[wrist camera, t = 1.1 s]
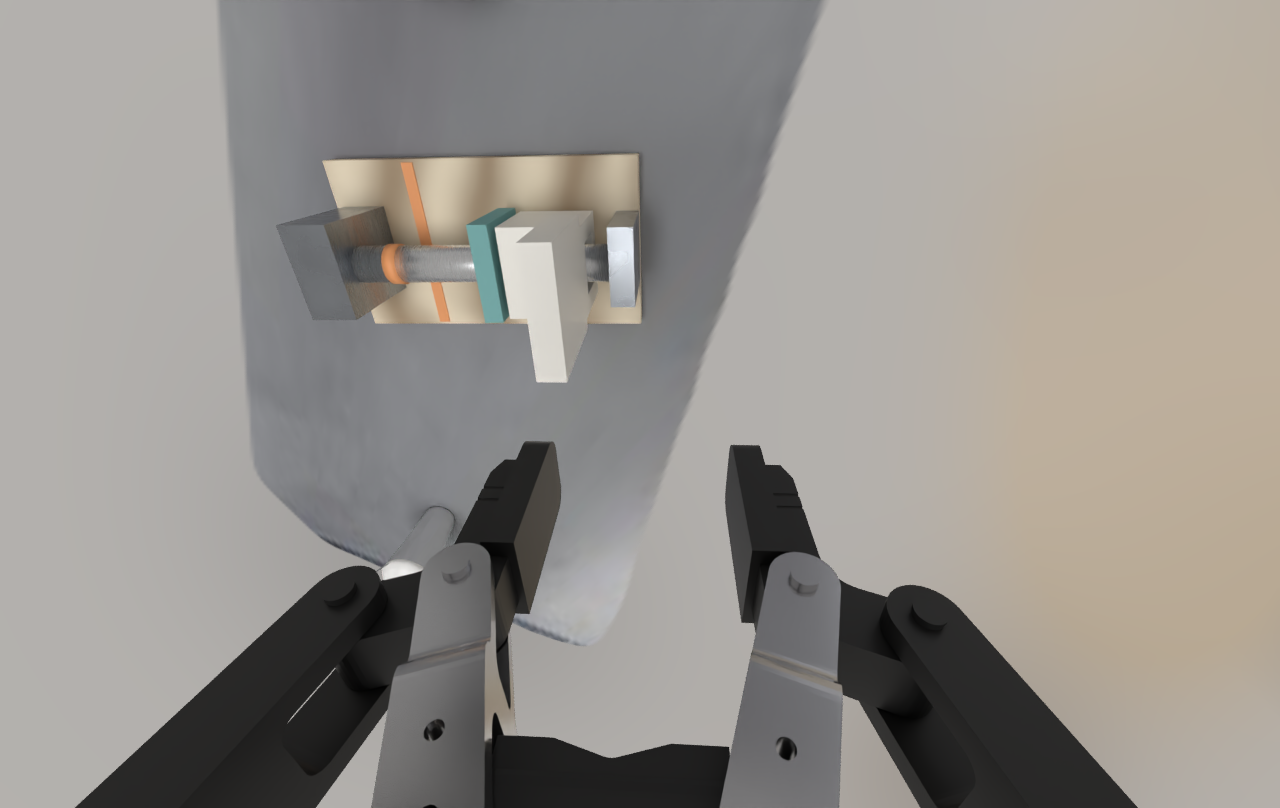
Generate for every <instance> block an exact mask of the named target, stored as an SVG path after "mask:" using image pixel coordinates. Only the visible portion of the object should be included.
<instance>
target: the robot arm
mask: <svg viewBox="0 0 1280 808" xmlns="http://www.w3.org/2000/svg"><path fill="white" fill-rule="evenodd" d="M560 501H561V484H560V476H559V469H558V462H557V454H556V448H555V444H554V442H541V441H526V442H524V444H523V446H522V448H521V450H520V453H519V455H518V457H517V459H516V460H504V461H503V462H502V463H501V464H499V465H498V466H497V467H496V468H495V469H494V470H493V471H491V473H490V475H489V477H488V479H487V481H486V483H485V485H484V489H482V491H481V493H480V495H479V497H478V501H476V503H475V505H474V507H473V509H472V511H471V512H470V514H469V516H468V518H467V520H466V522H465V524H464V526H463V528H462V530H461V532H460V534H459V536H458V538H457V540H456V542H455V544H454V545H451V546H449V547H446V548H444V549H442V550H441V551H439V552H438V553H436V554H435V555H434V556H433V557H431V558H430V560H429V561H428V562H427V563H426V565H425V566H424V568H423V570H422V571H419V572H416V573H412V574H408V575H404V576H399V577H395V578H391V579H387V580H382V581H381V580H380V578H379V575H378V574H377V572H376V571H375V570H373V569H372V568H370V567H366V566H352V567H348V568H344V569H341V570H338V571H336V572H334V573H332V574H330V575H328V576H326V577H325V578H323V579H322V580H321V581H319V582H318V583H317V584H316V585H315V586H314V587H312V588H311V589H310V590H309V591H308V592H307V593H306V594H305V595H304V596H303V597H302V598H301V599H299V600H298V601H297V603H295V604H294V605H293V606H292V607H291V608H290V609H289V610H288V611H287V612H286V613H284V614H283V615H282V616H281V617H280V618H279V619H278V620H277V621H276V622H275V623H274V624H273V625H271V627H269V628H268V629H267V630H266V631H265V632H264V633H263V634H262V635H261V636H260V637H259V638H257V639H256V640H255V641H254V642H253V643H252V644H251V645H250V646H249V647H248V648H247V649H246V650H245V651H243V653H241V654H240V655H239V656H238V657H237V658H236V659H235V660H234V661H233V662H232V663H231V664H229V665H228V666H227V667H226V668H225V669H224V670H223V671H222V672H221V673H220V674H219V675H218V676H217V677H216V678H214V680H212V681H211V682H210V683H209V684H208V685H207V686H206V687H205V688H204V689H202V690H201V691H200V692H199V693H198V694H197V695H196V696H195V697H194V698H193V699H192V700H191V701H190V702H188V703H187V704H186V705H185V706H184V707H183V708H182V709H181V710H180V711H179V712H178V713H177V714H176V715H175V716H173V717H172V718H171V719H170V720H169V721H168V722H167V723H166V724H165V725H164V726H163V727H162V728H160V729H159V730H158V731H157V732H156V733H155V734H154V735H153V736H152V737H151V738H150V739H149V740H148V741H146V742H145V743H144V744H143V745H142V746H141V747H140V748H139V749H138V750H137V751H136V752H135V753H134V754H133V755H131V756H130V757H129V758H128V759H127V760H126V761H125V762H124V763H123V764H122V765H121V766H119V767H118V768H117V769H116V770H115V771H114V772H113V773H112V774H111V775H110V776H109V777H108V778H107V779H105V780H104V781H103V782H102V783H101V784H100V785H99V786H98V787H97V788H96V789H95V790H94V791H93V792H91V793H90V794H89V795H88V796H87V797H86V798H85V799H84V800H83V801H82V802H81V803H80V804H79V805H77V806H76V807H75V808H316V807H317V805H318V804H319V802H320V801H321V800H322V798H323V797H324V796H325V794H326V793H327V791H328V790H329V789H330V787H331V786H332V785H333V783H334V782H335V781H336V779H337V778H338V776H339V775H340V774H341V772H342V771H343V769H344V768H345V767H346V766H347V764H348V763H349V761H350V760H351V759H352V757H353V756H354V754H355V753H356V752H357V750H358V749H359V748H360V746H361V745H362V744H363V742H364V741H365V740H366V738H367V737H368V735H369V734H370V733H371V731H372V730H373V729H374V727H375V726H376V724H377V723H378V722H379V720H380V719H381V718H382V716H383V715H384V714H385V712H386V711H387V709H388V711H387V717H386V723H385V729H384V735H383V741H382V747H381V753H380V759H379V765H378V771H377V776H376V782H375V788H374V794H373V801H372V806H371V808H839V795H840V793H839V792H840V766H841V764H840V763H841V736H842V706H843V705H842V703H843V701H842V700H843V695H845V696H848V697H850V698H853V699H855V700H858V701H859V702H860V704H861V706H862V707H863V709H864V711H865V713H866V714H867V716H868V718H869V719H870V721H871V723H872V724H873V726H874V728H875V730H876V732H877V733H878V735H879V737H880V738H881V740H882V742H883V744H884V745H885V747H886V749H887V751H888V752H889V754H890V756H891V758H892V759H893V761H894V762H895V764H896V766H897V768H898V769H899V771H900V773H901V775H902V776H903V778H904V780H905V782H906V783H907V785H908V787H909V789H910V790H911V792H912V794H913V796H914V797H915V799H916V801H917V802H918V804H919V806H920V807H921V808H1138V807H1137V806H1136V805H1135V804H1134V803H1133V802H1132V801H1131V800H1130V799H1129V797H1128V796H1127V795H1126V794H1125V793H1124V792H1123V791H1122V789H1121V788H1120V787H1119V786H1118V785H1117V784H1116V783H1115V782H1114V781H1113V780H1112V778H1111V777H1110V776H1109V775H1108V774H1107V773H1106V772H1105V770H1104V769H1103V768H1102V767H1101V766H1100V765H1099V764H1098V763H1097V762H1096V760H1095V759H1094V758H1093V757H1092V756H1091V755H1090V754H1089V753H1088V751H1087V750H1086V749H1085V748H1084V747H1083V746H1082V745H1081V744H1080V743H1079V742H1078V740H1077V739H1076V738H1075V737H1074V736H1073V735H1072V734H1071V733H1070V731H1069V730H1068V729H1067V728H1066V727H1065V726H1064V725H1063V724H1062V722H1061V721H1060V720H1059V719H1058V718H1057V717H1056V716H1055V715H1054V713H1053V712H1052V711H1051V710H1050V709H1049V708H1048V707H1047V706H1046V705H1045V704H1044V702H1043V701H1042V700H1041V699H1040V698H1039V697H1038V696H1037V695H1036V693H1035V692H1034V691H1033V690H1032V689H1031V688H1030V687H1029V686H1028V684H1027V683H1026V682H1025V681H1024V680H1023V679H1022V678H1021V677H1020V676H1019V674H1018V673H1017V672H1016V671H1015V670H1014V669H1013V668H1012V667H1011V665H1010V664H1009V663H1008V662H1007V661H1006V660H1005V659H1004V658H1003V657H1002V655H1001V654H1000V653H999V652H998V651H997V650H996V649H995V648H994V647H993V645H992V644H991V643H990V642H989V641H988V640H987V639H986V638H985V636H984V635H983V634H982V633H981V632H980V631H979V630H978V629H977V627H976V626H975V625H974V624H973V623H972V622H971V621H970V620H969V619H968V617H967V616H966V615H965V614H964V613H963V612H962V611H961V610H960V609H959V608H958V607H957V606H956V605H955V604H954V603H953V602H952V601H951V600H949V599H948V598H946V597H945V596H943V595H942V594H940V593H938V592H936V591H934V590H931V589H929V588H925V587H922V586H916V585H905V586H901V587H898V588H896V589H894V590H893V591H892V592H891V593H890V594H889V596H888V597H885V596H882V595H878V594H875V593H871V592H868V591H865V590H861V589H858V588H856V587H853V586H851V585H848V584H846V583H844V582H843V581H841V580H840V579H838V576H837V574H836V573H835V572H834V570H833V569H832V568H831V567H830V566H829V565H828V564H827V563H825V562H824V561H822V560H821V559H820V556H819V554H818V551H817V548H816V545H815V542H814V539H813V536H812V533H811V530H810V527H809V525H808V521H807V518H806V515H805V513H804V510H803V509H802V504H801V501H800V498H799V497H798V492H797V489H796V486H795V483H794V480H793V478H792V477H791V476H790V475H789V474H788V473H787V472H786V471H785V470H784V469H783V468H782V466H781V465H765V462H764V459H763V455H762V452H761V448H760V446H758V445H756V446H755V445H754V446H753V445H731V446H730V451H729V461H728V471H727V482H726V493H725V504H726V516H727V523H728V530H729V537H730V544H731V551H732V559H733V566H734V573H735V580H736V586H737V594H738V601H739V608H740V615H741V621H742V623H754V626H755V632H756V635H755V640H754V645H753V650H752V653H751V658H750V662H749V667H748V672H747V677H746V682H745V686H744V691H743V696H742V701H741V706H740V711H739V715H738V720H737V725H736V730H735V735H734V740H733V744H732V749H731V754H730V752H729V747H721V746H702V745H683V744H669V745H665V746H661V747H657V748H653V749H649V750H645V751H641V752H637V753H633V754H629V755H625V756H621V757H616V758H607V757H603V756H601V755H598V754H595V753H593V752H590V751H588V750H585V749H582V748H579V747H577V746H574V745H572V744H569V743H566V742H564V741H561V740H558V739H556V738H549V737H529V736H517V731H516V723H515V709H514V687H513V669H512V667H513V666H512V646H511V634H510V627H511V625H512V621H513V618H514V615H515V613H520V614H530V610H531V607H532V603H533V600H534V596H535V593H536V589H537V586H538V582H539V579H540V575H541V571H542V568H543V564H544V561H545V557H546V554H547V550H548V547H549V543H550V540H551V536H552V533H553V529H554V526H555V522H556V519H557V515H558V512H559V508H560ZM334 668H336V669H335V670H334V671H333V672H332V674H331V675H330V676H329V677H328V678H327V679H326V681H325V682H324V683H323V684H322V685H321V686H320V687H319V688H318V690H317V691H316V692H315V693H314V694H313V695H312V696H311V698H310V699H309V700H308V701H307V702H306V703H305V704H304V705H303V707H302V708H301V709H300V710H299V711H298V712H297V713H296V715H295V716H294V717H293V718H292V719H291V720H290V718H291V717H292V716H293V715H294V713H295V712H296V711H297V710H298V709H299V708H300V707H301V705H302V704H303V703H304V702H305V701H306V700H307V698H308V697H309V696H310V695H311V694H312V693H313V692H314V691H315V690H316V688H317V687H318V686H319V685H320V684H321V683H322V682H323V680H324V679H325V678H326V677H327V676H328V675H329V674H330V673H331V671H332V670H333V669H334ZM289 720H290V721H289ZM288 721H289V723H288ZM287 723H288V724H287Z"/></svg>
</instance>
